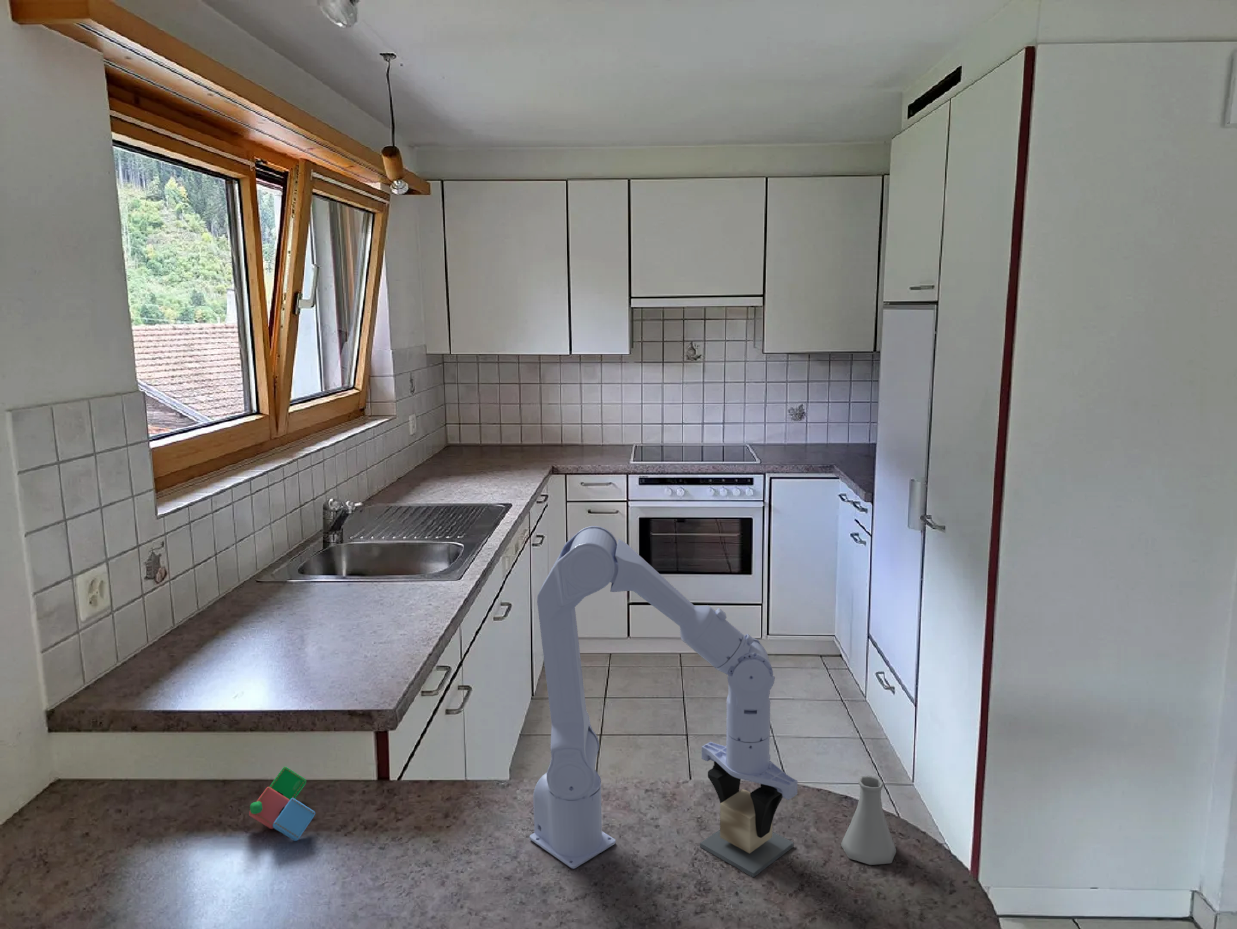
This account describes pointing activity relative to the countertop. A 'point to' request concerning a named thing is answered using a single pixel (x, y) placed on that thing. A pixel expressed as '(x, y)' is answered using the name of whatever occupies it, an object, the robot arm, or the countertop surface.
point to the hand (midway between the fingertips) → (746, 825)
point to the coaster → (743, 859)
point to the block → (740, 822)
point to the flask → (869, 827)
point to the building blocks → (283, 805)
